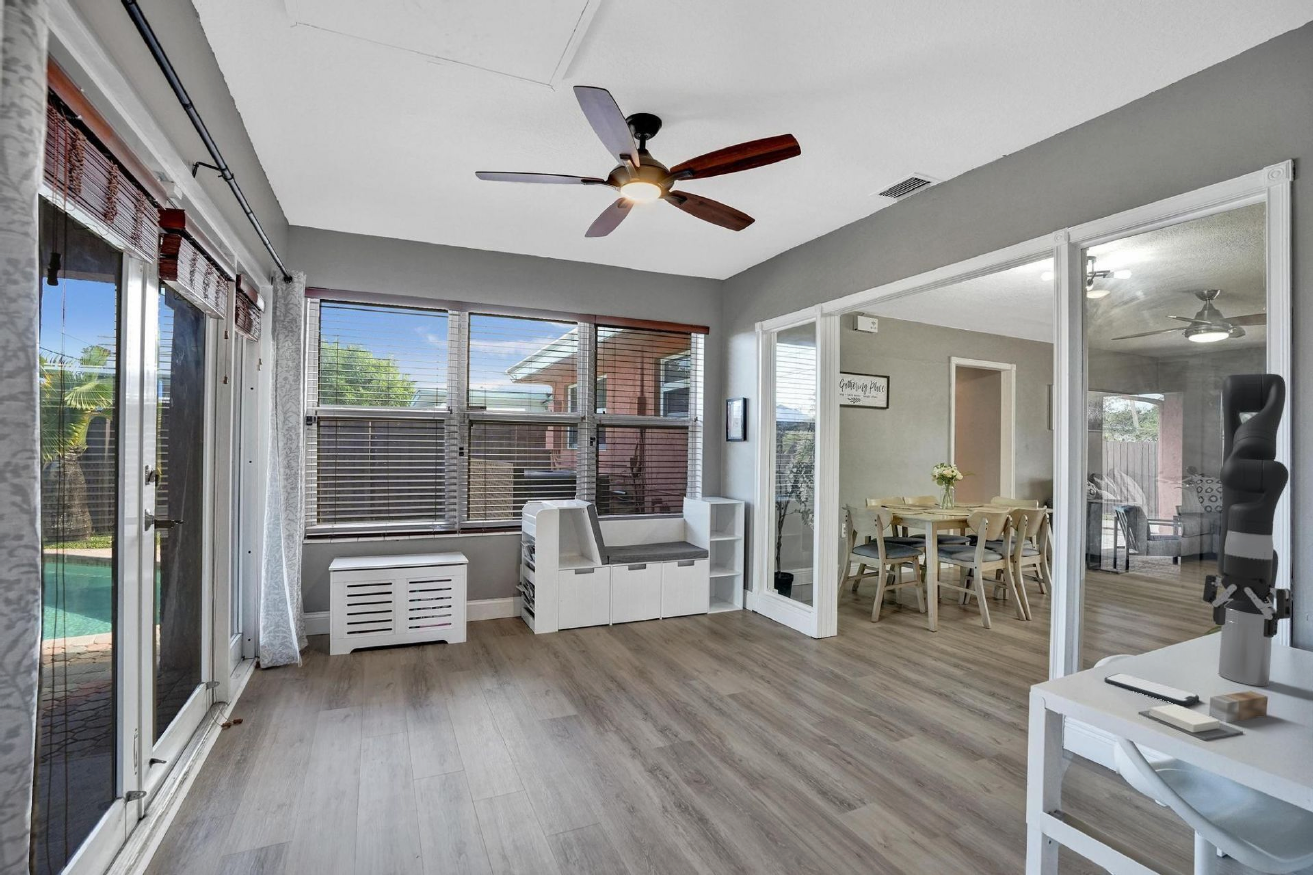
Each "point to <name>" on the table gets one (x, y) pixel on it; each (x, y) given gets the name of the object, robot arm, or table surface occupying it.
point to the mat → (1204, 735)
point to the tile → (1184, 718)
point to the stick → (1238, 706)
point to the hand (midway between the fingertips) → (1243, 630)
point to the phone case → (1153, 689)
